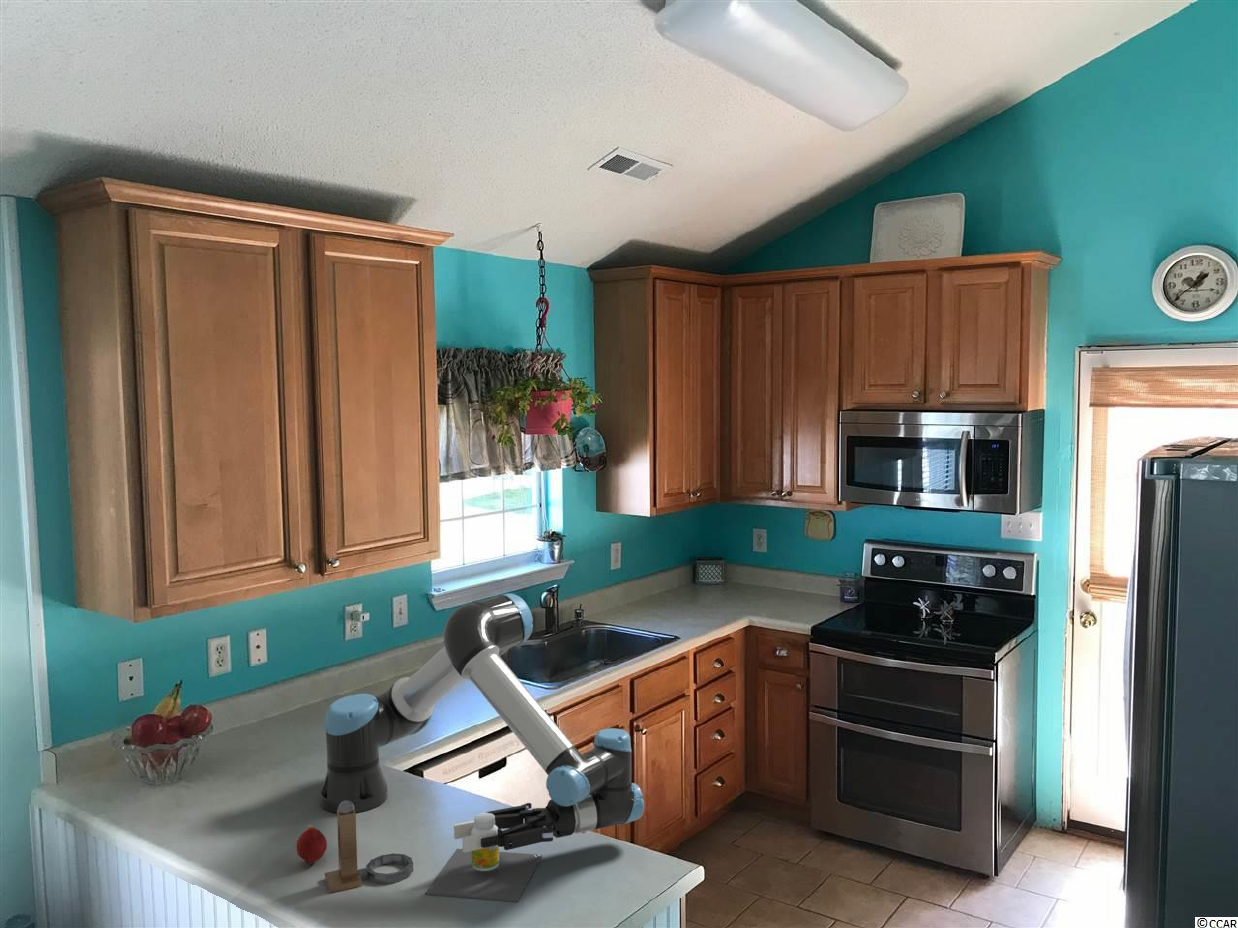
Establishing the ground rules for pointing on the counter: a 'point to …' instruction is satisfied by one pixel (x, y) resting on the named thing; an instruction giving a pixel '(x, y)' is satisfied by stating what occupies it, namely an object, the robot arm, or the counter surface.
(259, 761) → the counter surface
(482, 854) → the supplement bottle
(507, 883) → the mat
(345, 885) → the ring stand
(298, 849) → the onion
